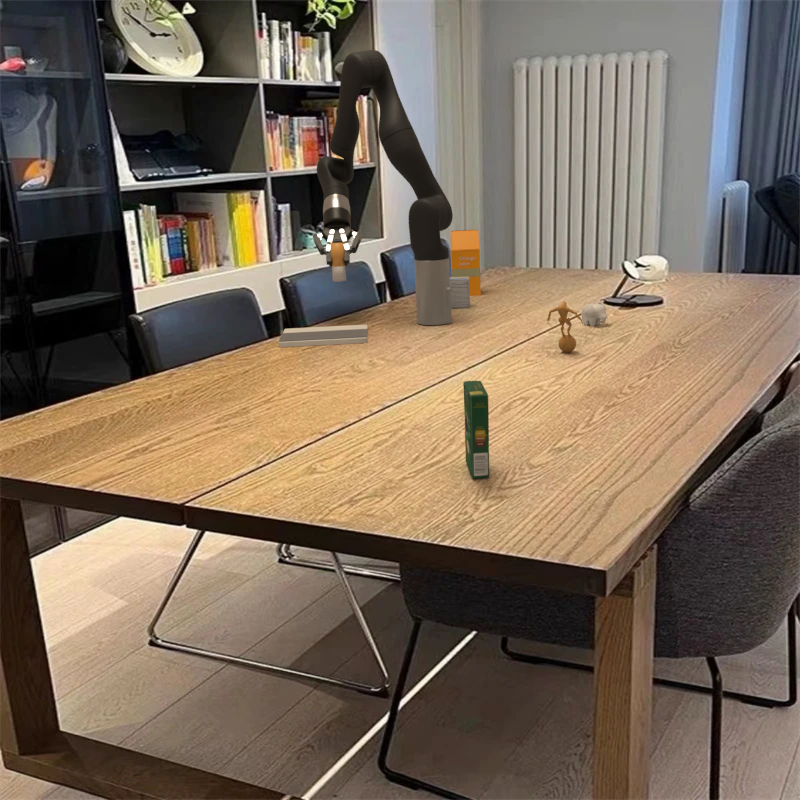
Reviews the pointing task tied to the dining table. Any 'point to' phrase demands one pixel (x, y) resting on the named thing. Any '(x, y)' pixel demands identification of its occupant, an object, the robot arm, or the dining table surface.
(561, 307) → the figurine
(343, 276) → the orange and grey block
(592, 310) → the elephant figurine
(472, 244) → the orange juice
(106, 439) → the dining table surface
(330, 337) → the board
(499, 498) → the dining table surface
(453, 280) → the medicine box
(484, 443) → the coffee box
